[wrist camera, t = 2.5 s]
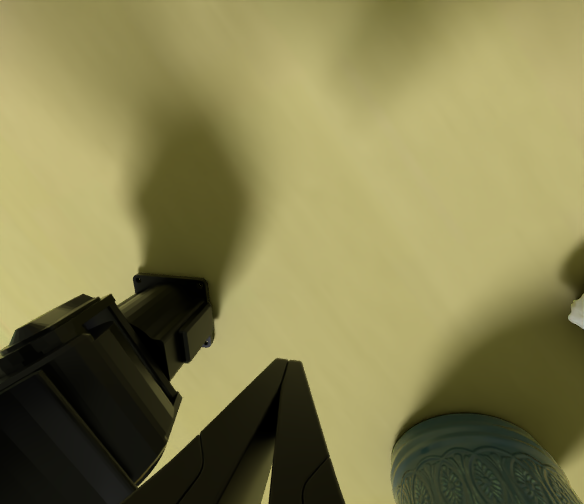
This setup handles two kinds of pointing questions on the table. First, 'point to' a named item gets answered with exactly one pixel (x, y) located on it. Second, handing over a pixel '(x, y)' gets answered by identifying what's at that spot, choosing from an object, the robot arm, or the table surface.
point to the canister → (475, 464)
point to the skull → (577, 312)
